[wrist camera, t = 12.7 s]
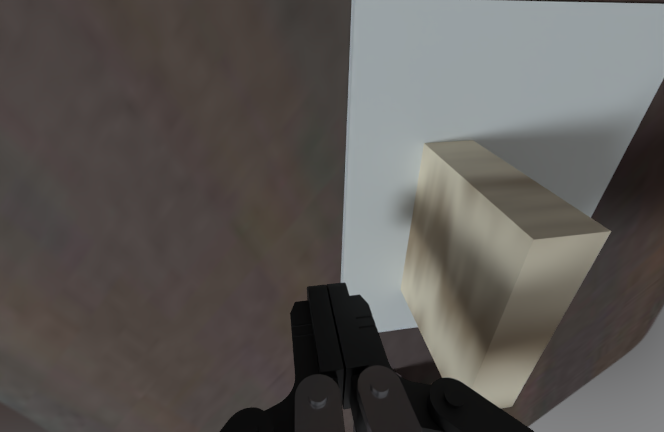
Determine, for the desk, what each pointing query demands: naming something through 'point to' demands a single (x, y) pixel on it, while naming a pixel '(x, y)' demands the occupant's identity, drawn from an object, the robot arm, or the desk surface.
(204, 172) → the desk surface
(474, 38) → the mat
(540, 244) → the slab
